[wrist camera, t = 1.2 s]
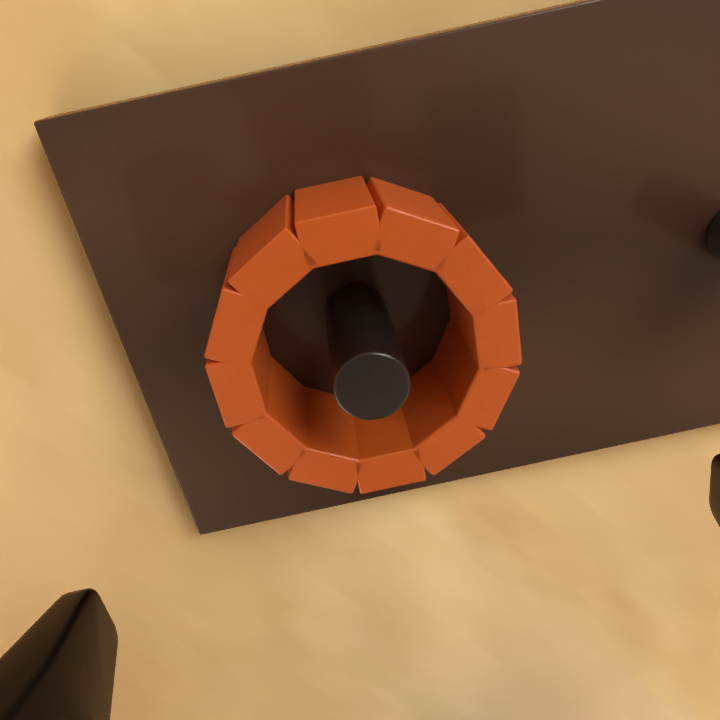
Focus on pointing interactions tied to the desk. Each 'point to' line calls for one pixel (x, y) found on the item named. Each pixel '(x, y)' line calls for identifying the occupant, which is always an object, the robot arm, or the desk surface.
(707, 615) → the desk surface
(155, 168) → the peg board
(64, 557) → the desk surface
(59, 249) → the desk surface
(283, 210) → the ring
